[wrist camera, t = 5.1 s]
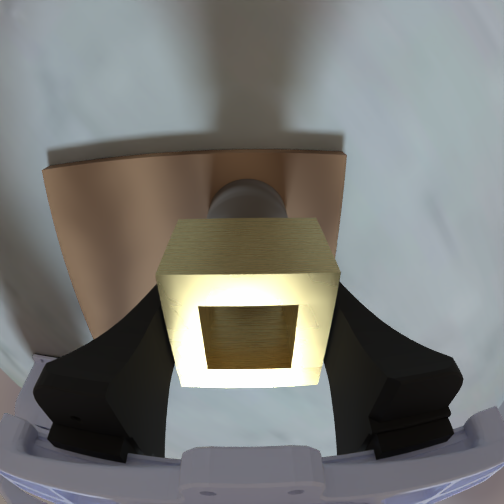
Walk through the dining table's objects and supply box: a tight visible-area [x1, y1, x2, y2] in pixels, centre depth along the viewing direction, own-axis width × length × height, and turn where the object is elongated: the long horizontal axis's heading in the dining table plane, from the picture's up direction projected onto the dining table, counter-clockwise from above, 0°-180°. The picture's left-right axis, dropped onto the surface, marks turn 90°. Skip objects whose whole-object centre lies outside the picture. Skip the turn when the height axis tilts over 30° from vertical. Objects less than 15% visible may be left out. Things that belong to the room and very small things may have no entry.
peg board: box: [42, 149, 347, 339], centre depth 20 cm, size 20×16×6 cm
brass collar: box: [155, 218, 341, 388], centre depth 13 cm, size 6×6×4 cm
